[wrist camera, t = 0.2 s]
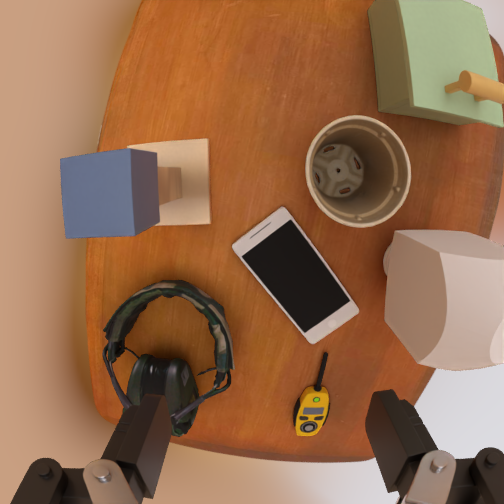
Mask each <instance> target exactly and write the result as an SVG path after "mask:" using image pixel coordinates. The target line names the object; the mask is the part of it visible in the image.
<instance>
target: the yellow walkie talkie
mask: <svg viewBox="0 0 504 504" xmlns="http://www.w3.org/2000/svg"><path fill="white" fill-rule="evenodd" d="M327 357H328V353H327V352H325V353H324V355H323V359H322V363H321V368H320V372H319V376H318V380H317V384H316V385H315V386H312V387H307V388H306V389H305V390H304V391H303V393H302V395H301V397H300V398H298V400H297V403H296V405H295V408H294V414H293V422H294V426H295V430H296V434H297V435H299V436H312V435H315V434H317V432H318V431H319V430H320V428H321V426H323V425H324V423H325V422H326V419H327V417H328V414H329V409H330V403H329V394H328V392H327V389H326V388H325V387H321V382H322V378H323V374H324V370H325V366H326V361H327Z"/></svg>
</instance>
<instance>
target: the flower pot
mask: <svg viewBox="0 0 504 504" xmlns="http://www.w3.org/2000/svg"><path fill="white" fill-rule="evenodd" d="M329 146H333V147H334V149H333V150H330V151H327V152H324V151H323V150H324V149H325V148H327V147H329ZM354 158H356V160H357V161H358V163H359V166H360V169H357V168H356V164H355V162H354ZM337 168H338V169H340V172H339V173H338V172H337V171H336V170H337ZM316 173H317V175H318V176H319V177H320V178H319V180H320V182H319V183H318V181H317V179H316V176H315V174H316ZM305 174H306V181H307V185H308V188H309V191H310V194H311V196H312V198H313V199H314V201H315V203H316V204H317V205H318V207H319V208H320V209H321V210H322V211H323V212H324V213H325V214H326V215H327V216H329V217H330V218H331V219H333V220H335V221H337V222H338V223H341V224H343V225H347V226H350V227H358V228H363V227H371V226H375V225H378V224H380V223H382V222H384V221H386V220H388V219H389V218H390V217H391V216H393V215H394V214H395V213H396V212H397V210H398V209H399V208H400V207H401V206H402V204H403V202H404V201H405V199H406V196H407V194H408V191H409V188H410V182H411V168H410V161H409V157H408V154H407V151H406V149H405V147H404V145H403V143H402V141H401V140H400V139H399V137H398V136H397V135H396V134H395V132H394V131H392V130H391V129H390V128H389V127H388V126H386V125H385V124H384V123H382V122H380V121H378V120H376V119H374V118H370V117H367V116H359V115H353V116H347V117H342V118H340V119H337V120H335V121H333V122H331V123H329V124H328V125H326V126H325V127H324V128H323V129H322V130H321V131H320V132H319V133H318V134H317V135H316V136H315V138H314V139H313V141H312V143H311V145H310V147H309V150H308V153H307V157H306V164H305ZM348 187H349V188H350V191H349V192H347V193H343V194H340V190H342V189H346V188H348Z"/></svg>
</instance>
